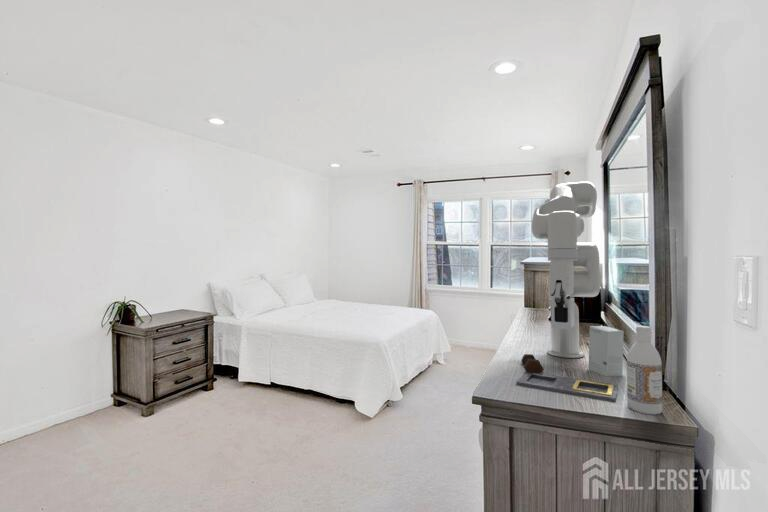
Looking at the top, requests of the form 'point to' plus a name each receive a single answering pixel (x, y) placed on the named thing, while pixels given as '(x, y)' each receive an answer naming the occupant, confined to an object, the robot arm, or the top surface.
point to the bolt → (531, 364)
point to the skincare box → (606, 350)
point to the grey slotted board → (569, 386)
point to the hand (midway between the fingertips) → (563, 319)
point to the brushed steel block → (570, 314)
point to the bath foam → (644, 374)
